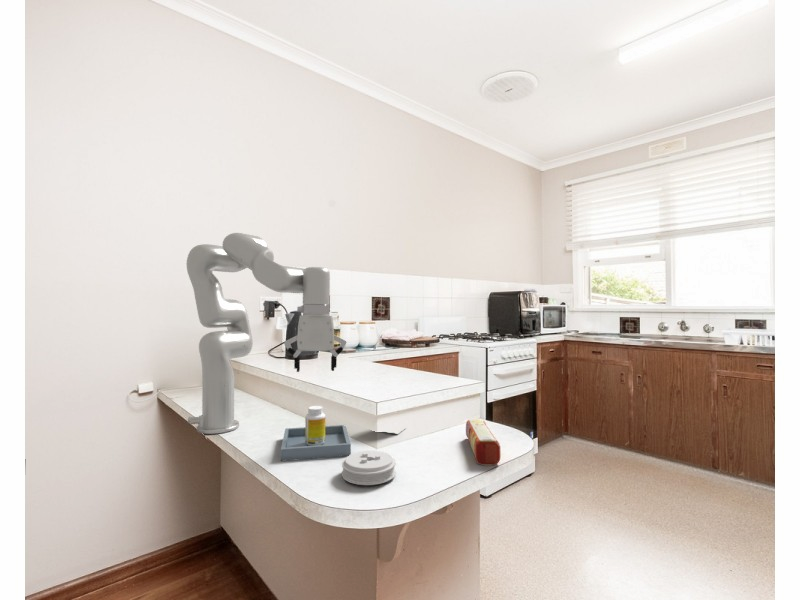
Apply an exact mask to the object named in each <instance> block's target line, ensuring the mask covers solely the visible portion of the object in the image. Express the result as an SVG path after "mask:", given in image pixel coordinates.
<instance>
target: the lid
mask: <svg viewBox="0 0 800 600" xmlns="http://www.w3.org/2000/svg"><path fill="white" fill-rule="evenodd" d="M396 464H397V461H396V459H395V458H394V456H392V455H391V454H390V453H387V452H385V451H381V450H362V451H361V450H360V451H357V452H353V453H351V455H349V456H346V457H345V458H344V459H343V460H342V462H341V468H342V471H341V476H342V478H343V480H344V481H347V482H349V483H351V484H353V485H354V484H355V485H359V486H375V485H381V484H384V483H387V482H389V481H391V480H392V479H393V478H395V476H396V474H397V470H396V469H395V468H396V467H395V466H396Z"/></svg>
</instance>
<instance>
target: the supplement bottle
mask: <svg viewBox="0 0 800 600" xmlns="http://www.w3.org/2000/svg"><path fill="white" fill-rule="evenodd" d="M304 418H305V421H304V423H305V442H306V444H307V445H309V446H316V445H322V444H324V443H325V426H326V414H325V413H324V412H323V406H322V405H311V406H309V407H308V413H307V414H306V415H305V417H304Z"/></svg>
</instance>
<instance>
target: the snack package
mask: <svg viewBox="0 0 800 600" xmlns="http://www.w3.org/2000/svg"><path fill="white" fill-rule="evenodd" d="M465 435H466V438H467V439H468V442H469V445H470V447H471V450H472V452H473V455H474V458H475V461H476V462H477V464H479V465H483V466H494V465H497V464H499V463H500V461H501V459H502V458H501V455H502V454H501V445H500V443H499V441H498V440H497V438H496V437H495V436H494V434H493V433H492V431H491V430H490V428H489V427H488V426H487V423H486V422H485V421H484V419H480V418H476V419H469V420H467V421H466V423H465Z"/></svg>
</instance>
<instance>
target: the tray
mask: <svg viewBox="0 0 800 600" xmlns="http://www.w3.org/2000/svg"><path fill="white" fill-rule="evenodd" d="M344 425H345V424H338V425H337V424H336V425H333V424H332V425H325V443H324V444H322V445H316V446H309V445H307V444H306V442H305V427H304V426H303V427H289V428H287V427H286V428H285V429H284V433H283V437H282V442H281V448H280V461H281V460H287V461H292V460H291V459H300V460H309V459H311V458H313V459H322V458H335V457H336V458H337V457H348V455H351V454H352V446H351V445H352V443H351V440H350V437H349V432H348V429H347V425H346V426H344Z"/></svg>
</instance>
